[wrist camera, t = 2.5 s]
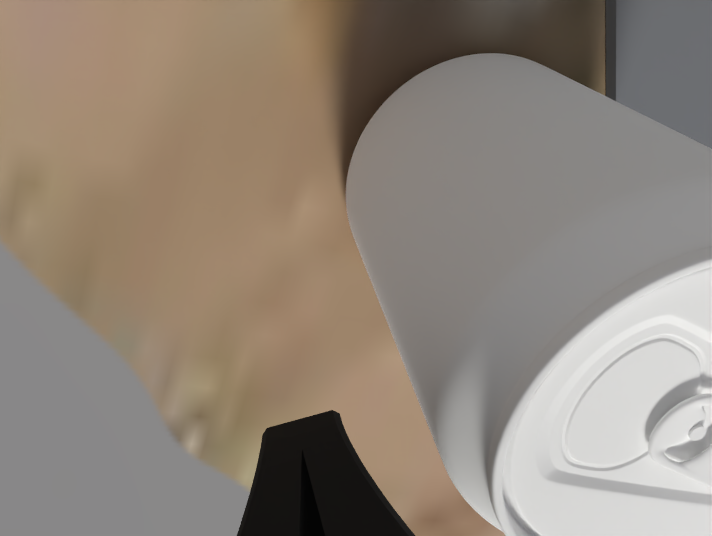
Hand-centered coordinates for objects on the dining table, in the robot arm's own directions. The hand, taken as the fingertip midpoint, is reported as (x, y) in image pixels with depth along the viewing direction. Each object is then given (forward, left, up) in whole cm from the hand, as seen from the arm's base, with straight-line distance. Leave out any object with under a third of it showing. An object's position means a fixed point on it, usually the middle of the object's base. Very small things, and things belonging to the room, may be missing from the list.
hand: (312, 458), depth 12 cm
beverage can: (0, -6, -10) cm, 12 cm away
